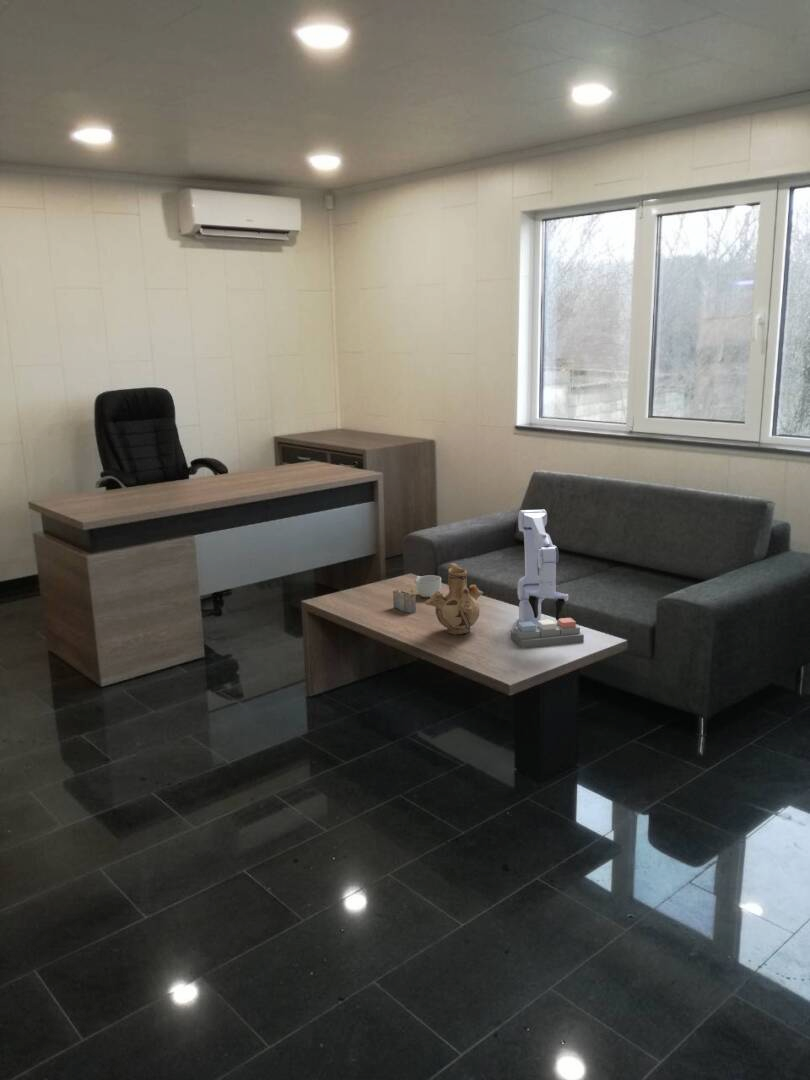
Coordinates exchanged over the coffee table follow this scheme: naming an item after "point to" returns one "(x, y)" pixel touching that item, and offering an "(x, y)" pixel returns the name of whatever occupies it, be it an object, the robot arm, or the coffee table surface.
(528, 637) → the key panel
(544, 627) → the white key
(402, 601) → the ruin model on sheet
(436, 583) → the teacup
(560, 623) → the salmon pink key
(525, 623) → the blue key
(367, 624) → the coffee table surface
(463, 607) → the ceramic vessel
